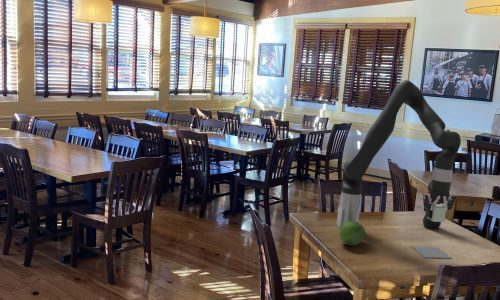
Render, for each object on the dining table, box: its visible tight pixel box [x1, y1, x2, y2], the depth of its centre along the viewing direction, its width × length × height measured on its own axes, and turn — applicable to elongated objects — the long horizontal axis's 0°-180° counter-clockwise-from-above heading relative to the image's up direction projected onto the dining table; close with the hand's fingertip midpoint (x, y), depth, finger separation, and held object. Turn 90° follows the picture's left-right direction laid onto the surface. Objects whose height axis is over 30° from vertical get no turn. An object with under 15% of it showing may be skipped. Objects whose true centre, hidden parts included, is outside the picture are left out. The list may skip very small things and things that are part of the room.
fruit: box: [339, 221, 366, 247], centre depth 207 cm, size 15×10×10 cm, turn 140°
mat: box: [411, 246, 452, 260], centre depth 204 cm, size 12×12×1 cm
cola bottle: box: [422, 179, 442, 230], centre depth 238 cm, size 8×8×30 cm
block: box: [427, 205, 447, 223], centre depth 201 cm, size 5×5×6 cm
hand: (436, 218), depth 201 cm, fingers closed on block, 5 cm apart
